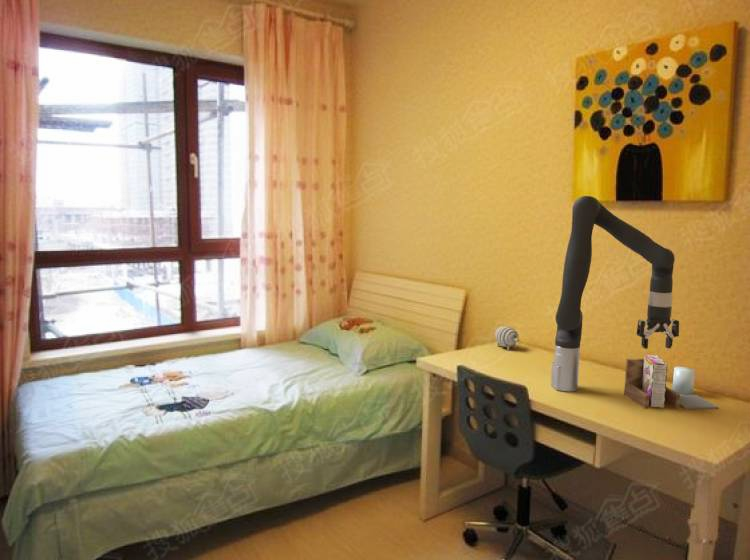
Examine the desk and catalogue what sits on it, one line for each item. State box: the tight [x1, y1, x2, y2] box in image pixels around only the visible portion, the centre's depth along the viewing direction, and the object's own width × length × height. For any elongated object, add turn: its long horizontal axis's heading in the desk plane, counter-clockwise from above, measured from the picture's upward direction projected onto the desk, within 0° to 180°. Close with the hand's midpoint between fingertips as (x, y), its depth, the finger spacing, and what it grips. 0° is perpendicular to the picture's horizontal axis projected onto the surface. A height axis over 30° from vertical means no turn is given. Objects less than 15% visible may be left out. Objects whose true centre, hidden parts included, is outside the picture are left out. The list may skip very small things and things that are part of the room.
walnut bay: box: [623, 358, 681, 410], centre depth 189 cm, size 12×14×14 cm
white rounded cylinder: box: [671, 366, 696, 395], centre depth 199 cm, size 7×7×9 cm
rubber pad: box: [679, 394, 719, 410], centre depth 189 cm, size 12×12×1 cm
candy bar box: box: [642, 354, 669, 409], centre depth 188 cm, size 11×5×16 cm, turn 168°
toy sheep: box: [494, 325, 520, 351], centre depth 260 cm, size 11×17×11 cm, turn 32°
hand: (656, 348), depth 186 cm, fingers open, 8 cm apart
